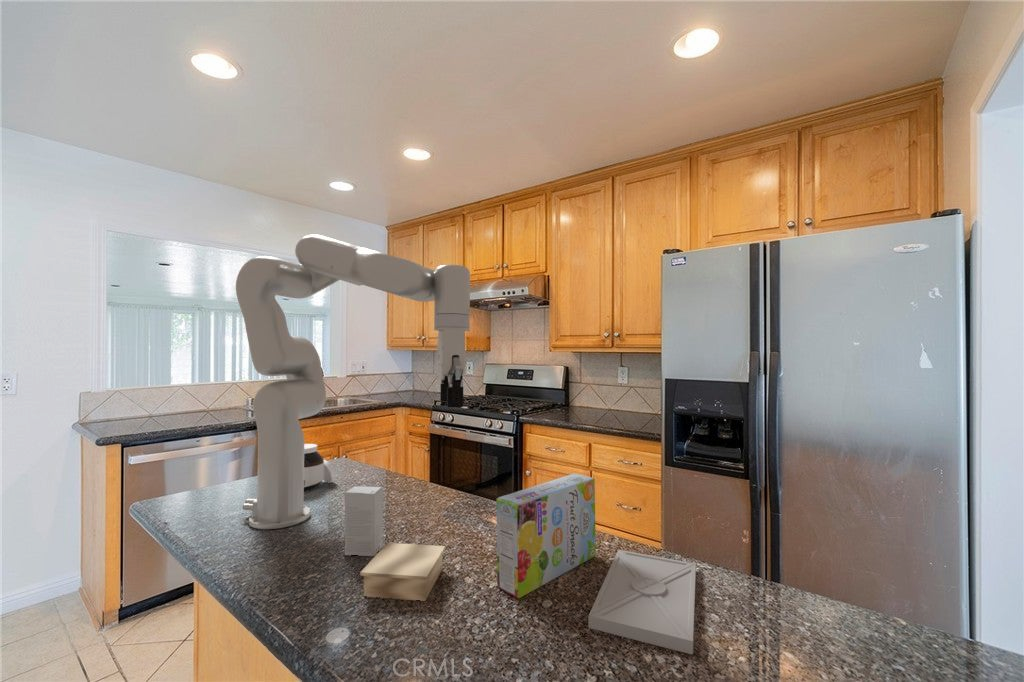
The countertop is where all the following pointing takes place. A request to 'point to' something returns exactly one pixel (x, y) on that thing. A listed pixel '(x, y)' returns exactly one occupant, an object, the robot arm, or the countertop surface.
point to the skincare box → (363, 521)
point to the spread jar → (316, 468)
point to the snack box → (544, 532)
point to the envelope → (647, 601)
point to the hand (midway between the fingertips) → (451, 404)
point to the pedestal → (403, 571)
